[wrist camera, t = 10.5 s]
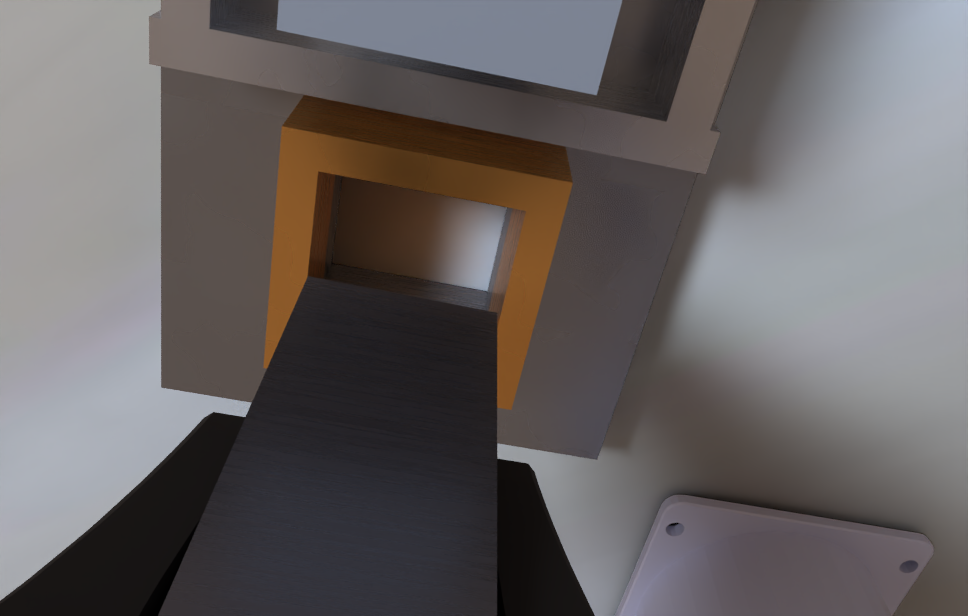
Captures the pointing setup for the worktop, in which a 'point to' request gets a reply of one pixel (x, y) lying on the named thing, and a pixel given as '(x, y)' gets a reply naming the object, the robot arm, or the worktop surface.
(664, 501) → the robot arm
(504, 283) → the bin
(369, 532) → the charcoal grey cuboid
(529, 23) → the pale blue block
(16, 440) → the worktop surface
